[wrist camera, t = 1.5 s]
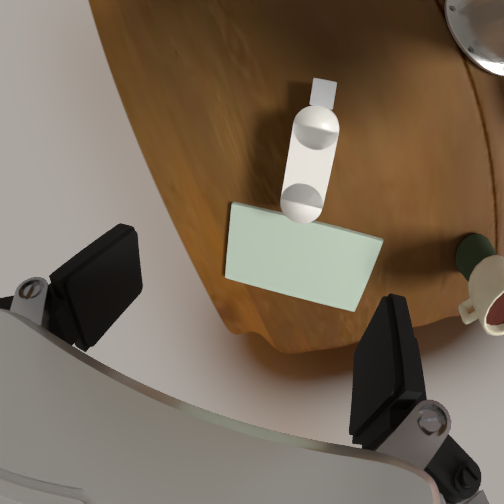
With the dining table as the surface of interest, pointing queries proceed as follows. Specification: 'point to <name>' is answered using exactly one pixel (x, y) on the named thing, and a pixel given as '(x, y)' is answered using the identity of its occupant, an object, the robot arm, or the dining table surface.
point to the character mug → (482, 283)
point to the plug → (310, 155)
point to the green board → (299, 256)
